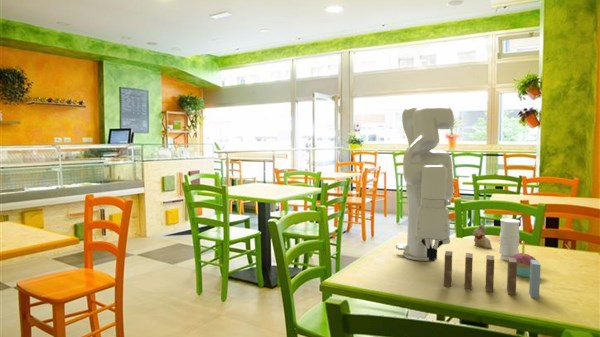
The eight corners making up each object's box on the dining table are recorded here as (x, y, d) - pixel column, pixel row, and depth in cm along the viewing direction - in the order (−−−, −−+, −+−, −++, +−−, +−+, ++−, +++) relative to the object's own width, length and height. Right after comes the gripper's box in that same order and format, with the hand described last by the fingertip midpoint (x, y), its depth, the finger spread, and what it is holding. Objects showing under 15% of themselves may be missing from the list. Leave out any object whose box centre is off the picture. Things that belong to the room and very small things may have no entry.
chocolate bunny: (483, 244, 181) (484, 221, 180) (493, 248, 173) (494, 225, 172) (471, 244, 180) (472, 221, 180) (480, 248, 173) (481, 225, 172)
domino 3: (485, 291, 124) (487, 259, 123) (485, 286, 128) (486, 255, 128) (493, 292, 123) (494, 260, 122) (492, 287, 128) (493, 255, 127)
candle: (512, 256, 162) (513, 218, 161) (522, 261, 155) (523, 222, 154) (495, 256, 162) (496, 218, 161) (504, 261, 155) (505, 222, 154)
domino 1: (443, 286, 128) (444, 254, 128) (444, 281, 133) (445, 250, 132) (450, 287, 128) (451, 255, 127) (451, 281, 132) (452, 251, 132)
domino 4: (508, 294, 121) (509, 261, 121) (506, 289, 126) (508, 257, 125) (515, 295, 121) (517, 262, 120) (514, 290, 125) (515, 257, 125)
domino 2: (464, 288, 126) (465, 257, 125) (464, 283, 131) (465, 252, 130) (471, 289, 125) (472, 257, 125) (471, 284, 130) (472, 253, 129)
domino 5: (531, 297, 119) (532, 264, 118) (529, 291, 124) (530, 259, 123) (539, 298, 118) (540, 264, 118) (536, 292, 123) (538, 260, 122)
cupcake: (536, 280, 134) (538, 244, 133) (507, 275, 138) (508, 240, 138) (537, 273, 141) (539, 238, 140) (509, 269, 146) (511, 235, 145)
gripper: (458, 203, 131) (457, 259, 132) (410, 200, 137) (409, 254, 138) (457, 207, 124) (456, 266, 125) (407, 203, 130) (406, 260, 131)
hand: (431, 260), depth 132 cm, fingers closed
